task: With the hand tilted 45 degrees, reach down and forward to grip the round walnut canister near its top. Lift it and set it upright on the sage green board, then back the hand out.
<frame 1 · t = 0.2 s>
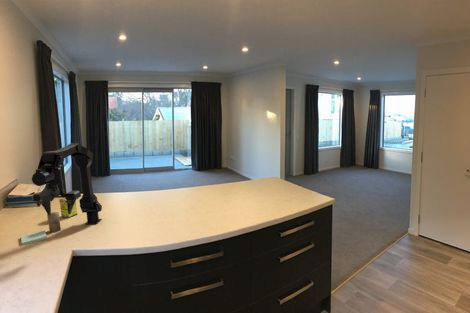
hand: (59, 214, 138), 15 cm above the worktop, tool pointing down, fingers open, 9 cm apart
sage green board: (34, 238, 149), on the worktop
walnut canister: (55, 230, 158), on the worktop
supplement box: (69, 216, 179), on the worktop
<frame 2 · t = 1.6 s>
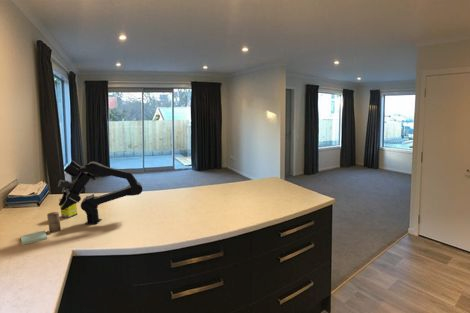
hand: (60, 207, 158), 11 cm above the worktop, tool tilted 45°, fingers open, 9 cm apart
nothing on the worktop moved.
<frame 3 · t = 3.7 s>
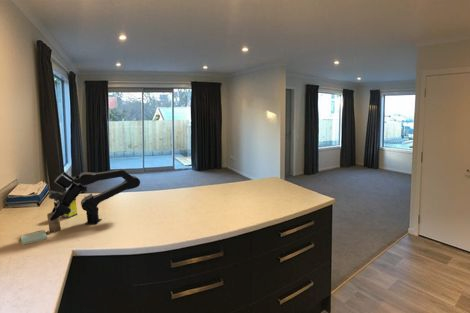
hand: (50, 218, 156), 7 cm above the worktop, tool tilted 45°, fingers closed on walnut canister, 5 cm apart
walnut canister: (55, 230, 158), on the worktop, touching gripper
everything else where it was.
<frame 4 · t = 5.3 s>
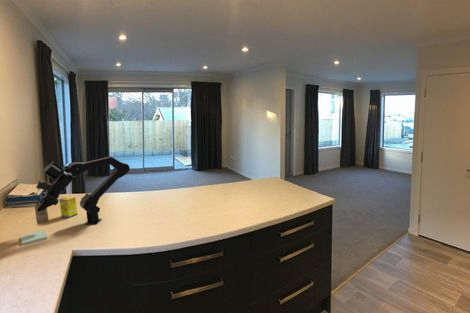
hand: (37, 209, 151), 13 cm above the worktop, tool tilted 45°, fingers closed on walnut canister, 5 cm apart
walnut canister: (42, 221, 153), point 6 cm above the worktop, touching gripper
everything else where it was.
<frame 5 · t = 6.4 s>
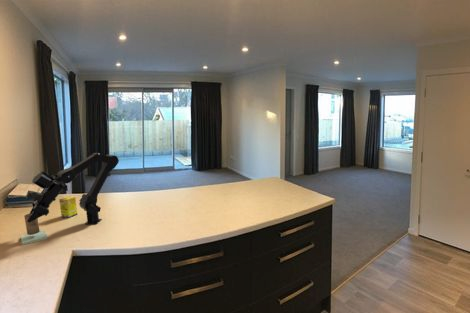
hand: (27, 220, 147), 9 cm above the worktop, tool tilted 45°, fingers closed on walnut canister, 5 cm apart
walnut canister: (33, 232, 149), point 3 cm above the worktop, touching gripper
everything else where it was.
when the fingers open (9 cm above the worktop, at t = 7.3 s): walnut canister drops 1 cm, resting on sage green board.
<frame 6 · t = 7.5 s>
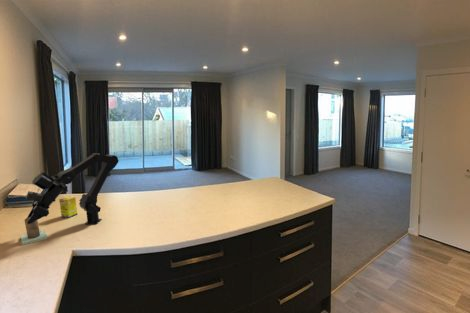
hand: (27, 221, 147), 9 cm above the worktop, tool tilted 45°, fingers open, 7 cm apart
walnut canister: (33, 236, 149), point 1 cm above the worktop, touching sage green board
everything else where it was.
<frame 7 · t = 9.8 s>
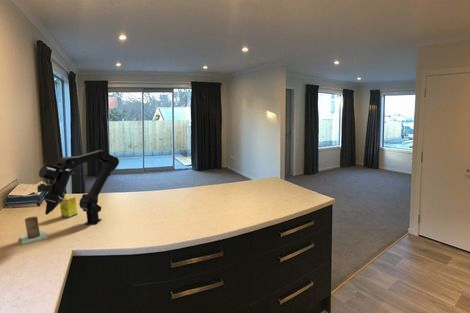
hand: (48, 212, 149), 12 cm above the worktop, tool tilted 25°, fingers open, 9 cm apart
nothing on the worktop moved.
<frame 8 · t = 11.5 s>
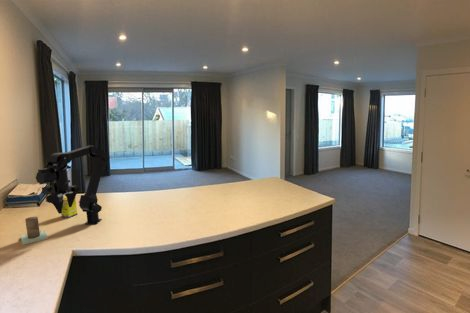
hand: (65, 210, 152), 12 cm above the worktop, tool pointing down, fingers open, 9 cm apart
nothing on the worktop moved.
at the end: walnut canister inside the target area on the sage green board (0.0 cm from its centre), point 1.0 cm above the sage green board's base; walnut canister tilted 1°; the gripper is holding nothing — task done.
